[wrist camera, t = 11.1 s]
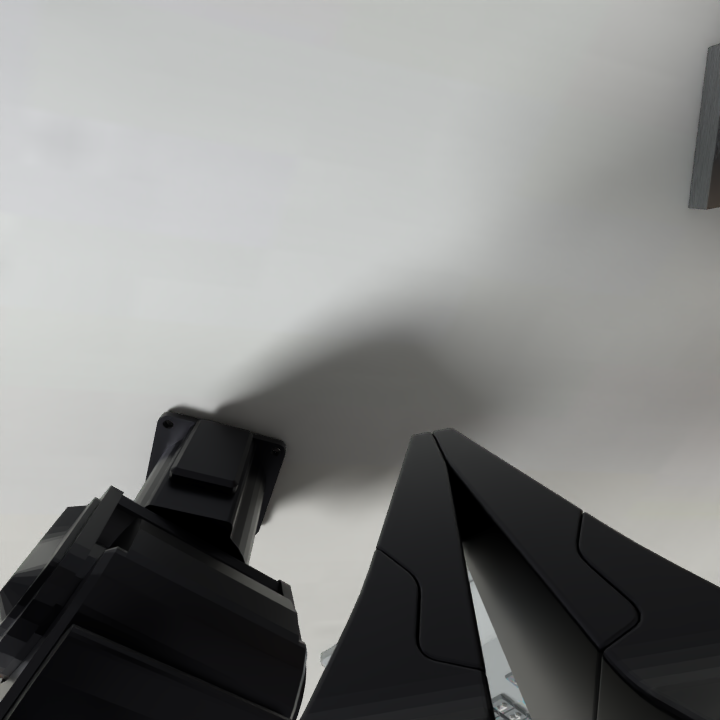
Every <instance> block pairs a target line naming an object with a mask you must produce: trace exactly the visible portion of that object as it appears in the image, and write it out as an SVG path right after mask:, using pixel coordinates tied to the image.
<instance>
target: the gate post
mask: <svg viewBox="0 0 720 720" xmlns="http://www.w3.org/2000/svg"><path fill="white" fill-rule="evenodd" d="M717 207H720V44H718V45H715V46H712V47H709V48H708V55H707V63H706V71H705V79H704V87H703V95H702V103H701V111H700V119H699V127H698V135H697V143H696V151H695V159H694V167H693V175H692V183H691V191H690V200H689V208H695V209H706V210H707V209H712V208H717Z"/></svg>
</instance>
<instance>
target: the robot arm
mask: <svg viewBox="0 0 720 720" xmlns="http://www.w3.org/2000/svg"><path fill="white" fill-rule="evenodd" d="M166 420H170V421H172V423H173V425H172V424H168V423H167V422H166ZM273 448H278V449H280V451H274V450H273ZM285 453H286V444H285V443H284V442H283V441H281V440H278V439H274V438H270V437H266V436H263V435H259V434H255V433H251V432H250V431H248V430H244V429H240V428H236V427H232V426H229V425H225V424H221V423H217V422H213V421H209V420H206V419H202V420H201V419H197V418H194V417H190V416H186V415H182V414H178V413H175V412H165V413H164V414H162V415H161V417H160V418H159V420H158V422H157V427H156V432H155V437H154V442H153V447H152V452H151V457H150V461H149V466H148V471H147V476H146V481H145V484H144V485H143V487H142V488H141V490H140V492H139V493H138V495H137V497H136V498H135V500H134V501H132V500H130V499H129V498H127V497H125V496H123V493H124V492H122V491H120V490H119V489H117V488H115V487H113V486H110V487H109V489H108V490H107V491H106V492H105V493H104V495H103V496H102V497H101V498H100V499H98V498H96V497H95V498H94V499H93V500H92V501H91V503H90V504H88V505H87V506H74V507H67V508H66V510H65V511H64V512H63V513H62V515H61V516H60V517H59V518H58V519H57V521H56V522H55V523H54V524H53V526H52V527H51V528H50V529H49V531H48V532H47V533H46V534H45V536H44V537H43V538H42V539H41V541H40V542H39V543H38V544H37V545H36V547H35V548H34V549H33V550H32V552H31V553H30V554H29V555H28V557H27V558H26V559H25V560H24V562H23V563H22V564H21V566H20V567H19V568H18V569H17V571H16V572H15V573H14V574H13V576H12V577H11V578H10V579H9V581H8V582H7V583H6V585H5V586H4V587H3V588H2V590H1V591H0V720H296V719H297V716H298V713H299V709H300V706H301V703H302V699H303V694H304V688H305V683H306V659H307V649H306V644H305V643H304V642H303V641H302V640H301V635H300V630H299V625H298V617H297V612H296V610H295V606H294V601H293V596H292V591H291V587H290V585H288V584H287V583H285V582H283V581H281V580H278V581H276V580H274V579H272V578H271V577H269V576H267V575H265V574H263V573H262V572H260V571H258V570H256V569H254V568H253V567H251V566H249V560H250V556H251V551H252V546H253V542H254V537H255V535H256V534H257V533H258V532H259V529H260V526H261V523H262V520H263V517H264V515H265V512H266V509H267V506H268V503H269V500H270V497H271V494H272V491H273V489H274V486H275V483H276V480H277V477H278V474H279V471H280V468H281V465H282V463H283V460H284V457H285ZM466 564H467V566H468V569H469V571H470V574H471V576H472V578H473V581H474V583H475V585H476V588H477V590H478V593H479V595H480V597H481V600H482V602H483V605H484V607H485V609H486V612H487V614H488V616H489V619H490V621H491V624H492V626H493V628H494V631H495V633H496V635H497V638H498V640H499V643H500V645H501V647H502V650H503V652H504V654H505V657H506V659H507V662H508V664H509V666H510V669H511V671H512V673H513V676H514V678H515V681H516V683H517V685H518V688H519V690H520V693H521V695H522V697H523V700H524V702H525V704H526V707H527V709H528V712H529V714H530V716H531V719H532V720H720V587H718V586H716V585H715V584H713V583H711V582H709V581H707V580H705V579H703V578H701V577H699V576H697V575H695V574H693V573H692V572H690V571H688V570H686V569H684V568H682V567H680V566H678V565H676V564H674V563H672V562H671V561H669V560H667V559H665V558H663V557H661V556H660V555H658V554H656V553H654V552H652V551H650V550H649V549H647V548H645V547H643V546H641V545H639V544H638V543H636V542H634V541H632V540H631V539H629V538H627V537H626V536H624V535H622V534H621V533H619V532H617V531H616V530H614V529H612V528H611V527H609V526H607V525H606V524H604V523H603V522H601V521H599V520H598V519H596V518H595V517H593V516H591V515H590V514H588V513H586V512H585V513H583V511H582V510H581V509H580V508H578V507H577V506H575V505H574V504H572V503H570V502H569V501H567V500H566V499H564V498H562V497H561V496H559V495H558V494H556V493H555V492H553V491H551V490H550V489H548V488H547V487H545V486H543V485H542V484H540V483H539V482H537V481H535V480H534V479H532V478H531V477H529V476H527V475H526V474H524V473H523V472H521V471H520V470H518V469H516V468H515V467H513V466H512V465H510V464H508V463H507V462H505V461H504V460H502V459H500V458H499V457H497V456H496V455H494V454H493V453H491V452H489V451H488V450H486V449H485V448H483V447H481V446H480V445H478V444H477V443H475V442H473V441H472V440H470V439H469V438H467V437H466V436H464V435H462V434H461V433H459V432H458V431H456V430H454V429H452V428H448V429H443V430H438V431H434V432H433V434H432V433H430V432H427V433H421V434H416V435H413V436H412V437H411V440H410V443H409V446H408V449H407V452H406V455H405V459H404V462H403V465H402V468H401V471H400V474H399V477H398V481H397V484H396V487H395V490H394V493H393V496H392V499H391V503H390V506H389V509H388V512H387V515H386V518H385V521H384V524H383V528H382V531H381V534H380V537H379V540H378V543H377V546H376V550H375V552H374V555H373V558H372V561H371V565H370V568H369V570H368V573H367V576H366V579H365V581H364V584H363V587H362V590H361V592H360V595H359V597H358V599H357V602H356V604H355V606H354V608H353V611H352V613H351V615H350V617H349V620H348V622H347V624H346V626H345V628H344V630H343V632H342V634H341V637H340V639H339V641H338V643H337V645H336V647H335V649H334V651H333V653H332V655H331V657H330V659H329V661H328V664H327V666H326V668H325V670H324V672H323V674H322V676H321V678H320V680H319V682H318V684H317V686H316V688H315V691H314V693H313V695H312V697H311V699H310V701H309V703H308V705H307V707H306V709H305V711H304V713H303V715H302V717H301V718H300V720H496V718H495V713H494V709H493V704H492V699H491V694H490V689H489V684H488V679H487V676H486V668H485V662H484V657H483V652H482V646H481V641H480V636H479V630H478V625H477V620H476V614H475V609H474V604H473V598H472V593H471V588H470V582H469V577H468V572H467V566H466Z"/></svg>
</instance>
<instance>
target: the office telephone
mask: <svg viewBox="0 0 720 720" xmlns="http://www.w3.org/2000/svg"><path fill="white" fill-rule="evenodd" d="M466 566H467V564H466ZM467 572H468V577H469V582H470V588H471V593H472V598H473V604H474V609H475V614H476V620H477V625H478V630H479V636H480V641H481V646H482V652H483V657H484V662H485V668H486V676H487V679H488V684H489V689H490V694H491V699H492V704H493V709H494V713H495V718H496V720H532V719H531V716H530V714H529V712H528V709H527V707H526V704H525V702H524V700H523V697H522V695H521V693H520V690H519V688H518V685H517V683H516V681H515V678H514V676H513V673H512V671H511V669H510V666H509V664H508V662H507V659H506V657H505V654H504V652H503V650H502V647H501V645H500V643H499V640H498V638H497V635H496V633H495V631H494V628H493V626H492V624H491V621H490V619H489V616H488V614H487V612H486V609H485V607H484V605H483V602H482V600H481V597H480V595H479V593H478V590H477V588H476V585H475V583H474V581H473V578H472V576H471V574H470V571H469V569H468V566H467ZM336 645H337V644H336ZM336 645H334V646H333V647H331V648H329V649H328V650H326V651H324V652H323V653H321V661H320V662H321V664H322V666H324V667H325V668H326V666H327V664H328V661H329V659H330V657H331V655H332V653H333V651H334V649H335V647H336Z"/></svg>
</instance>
